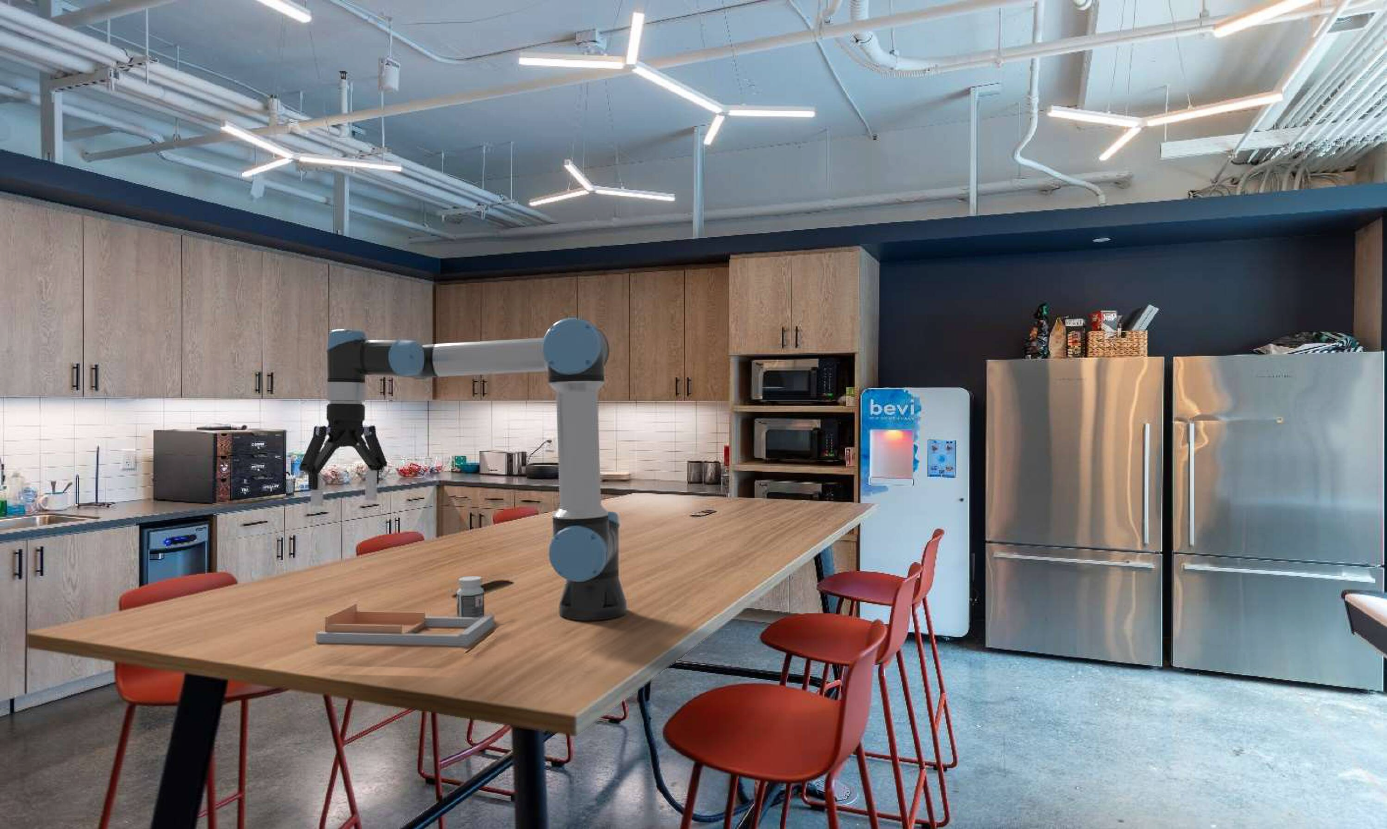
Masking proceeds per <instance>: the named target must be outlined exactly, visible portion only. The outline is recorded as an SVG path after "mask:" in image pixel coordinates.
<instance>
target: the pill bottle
mask: <svg viewBox="0 0 1387 829" xmlns="http://www.w3.org/2000/svg"><path fill="white" fill-rule="evenodd" d="M482 583H483V582H482V576H473V575H472V576H464V577H460V578H459V579H458V585H459V586H460V587H459V588H458V590H457V591H456V617H478V618H483V617H484V616H485V591H484V588H483V587H481V586H482Z"/></svg>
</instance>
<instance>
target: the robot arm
mask: <svg viewBox="0 0 1387 829" xmlns="http://www.w3.org/2000/svg"><path fill="white" fill-rule="evenodd" d="M326 348H327V349H326V353H327V354H326V358H327V360H326V361H327V364H326V366H327V372H326V373H327V379H326V401H327V402H329V403H327V405H326V421H327V422H328V423H327V426H326V425H315V426H314V427H313V432H312V433H313V434H312V438H311V440H310V442H309V444H308V447H307V449H306V450H305V453H304V455H303V457H302V460H301V463H300V464H299V466H298V469H299V471H301V472H304V474H307V476H308V481H307V482H308V483H307V484H308V485H307V488H308V490H310V506H312V507H313V506H314V507H323V506H324V474H323V473H320V472H321V471H322V470H323V468H324V467H325V466H326V464H327V462H328V461H329V460H330V459H331V457H332V456H333V454H334V453H335V451H336V450H338V449H339V448H346V447H352V448H353V449H355V451H356V452H357V453H358V455H359V457H360V458H361V460H362V461H363V462H364V463H365V465H366V467H367V468H368V469H366V470H365V483H364V484H365V488H364V490H365V493H364V495H365V496H364V499H365V501H377V496H378V495H377V494H378V487H377V486H378V485H379V484H380V471H383V470H384V468H385V467H387V466H388V462H387V459H386V457H385V455H384V451H383V448H382V446H381V444H380V442H379V439H378V437H377V431H376V430H377V429H376V426H375V425H374V424H373V425H370V424H368V425H364V424H363V422H364V421H366V420H365V418H366V406H365V404H363V402H365V401H366V376H393V377H401V378H403V377H404V378H411V379H415V380H426V379H429V378H441V377H461V376H477V375H478V376H479V375H494V374H495V375H499V374H515V373H532V372H533V373H535V372H547V374H548V376H547V377H548V380H547V381H548V385H549V387H551V389H552V390H554V392H555V395H556V400H555V402H556V421H557V422H556V425H557V426H556V427H557V428H556V429H557V432H556V433H557V457H558V458H557V460H558V462H557V463H558V491H559V494H558V496H559V497H558V498H559V507H558V508H557V510H556V511H555V512H554V513H553V514H552V538H551V541H550V544H549V548H548V558H549V562H550V565H551V567H552V568H553V571H555V573H556V574H557V575H558V576H560V577H561V578H562V579H565V580H566V581H565V584H564V588H563V591H562V595H561V598H560V601H559V605H558V609H559V611H558V612H559V613H558V614H559V616H560V617H562V618H565V619H568V620H573V621H589V622H590V621H603V620H610V619H611V620H612V619H616V618H619V617H622V616H624V615H625V614H626V613H627V606H628V604H627V599H626V596H625V594H624V590H623V587H622V584H621V581H620V576H619V575H620V574H619V573H620V572H619V571H620V570H619V565H620V564H619V562H620V561H619V560H620V559H619V552H620V550H619V549H620V548H619V541H620V540H619V539H620V538H619V531H620V530H619V528H620V522H619V515H618V513H617V512H615V511H608V510H606V509H605V508H604V507H603V506H602V497H601V494H602V493H601V492H602V491H601V464H600V462H601V461H600V436H599V435H600V432H599V431H600V430H599V426H600V425H599V402H598V401H599V399H598V398H599V397H598V392H599V390H600V389H601V388H602V387H603V385H604V384H605V366H606V364H607V363H608V360H609V358H610V350H611V348H610V343H609V341H608V338H607V337H606V335H605V334H604V332H602V331H601V330H600V329H599V328H597V327H596V326H595V325H594V324H593V323H591V322H590V321H588V320H586V319H583V318H576V317H566V318H562V319H560V320H558V321H557V322H555V323H553V324H552V325H551V326H550V327H549V329H548V330H547V331H546V333H545V335H544V337H533V338H521V339H520V338H518V339H517V338H516V339H500V340H498V339H497V340H483V341H466V342H449V343H448V342H447V343H436V344H435V343H434V344H433V343H432V344H421V343H420V342H419V341H417V340H408V339H379V340H378V339H367V335H366V333H365V332H364V331H363V330H358V329H345V328H344V329H343V328H342V329H333V330H331V331H329V333H328V336H327V346H326ZM327 436H328V438H327V439H326V437H327ZM362 436H363V437H364V438H363V437H362ZM323 445H324V446H323Z"/></svg>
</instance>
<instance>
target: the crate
mask: <svg viewBox="0 0 1387 829" xmlns="http://www.w3.org/2000/svg"><path fill="white" fill-rule="evenodd" d="M425 616H426V612H425V611H388V610H387V611H386V610H385V611H383V610H382V611H381V610H358V603H352V604H350V605H347V606H346V607H343V608H342V609H340V610H337V611H335V612H332V613H330V614H329V615H326V616H324V630H325V631H324V632H356V633H404V634H417V633H418V632H419V631H420V630H422V629H424V628H426V626H425Z"/></svg>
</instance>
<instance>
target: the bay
mask: <svg viewBox="0 0 1387 829" xmlns="http://www.w3.org/2000/svg"><path fill="white" fill-rule="evenodd" d="M494 626H495V615H494V614H485V615H484V617H483V618H478V617H457V616H427V615H425V627H427V628H428V627H430V628H431V627H435V628H437V627H439V628H442V627H443V628H466V629H464V630H463V631H462V632H460V633H458V634H452V633H451V634H449V633H448V634H445V633H444V634H443V633H414V634H404V633H356V632H325V631H318V632H316V634H315V636H316V637H315V640H316V641H315V642H316V643H317V644H318V643H322V644H323V643H324V644H325V643H329V644H363V645H364V644H366V645H411V646H422V645H423V646H452V647H453V646H457V647H468V646H470V645H471V644H472V643H474V642H475V641H476V640H477V639H479V638H480V637H482V636H484V634H485V633H487V632H488V631H489V630H491V629H492V628H494ZM494 632H495V630H494V629H493V630H492V631H491V632H489V633H488V634H487V635H485V637H483V638H482V639H480V641H478V642H476V643H475V645H473V646H471V648H469V649H467V651H466V652H464V654H468V653H469V652H471V651H472V650H473V649H474V648H475V647H477V646H478V645H480V644H481V643H482V642H483V641H485V640H486V639H487V638H488V637H489V636H491V635H492V634H493V633H494Z"/></svg>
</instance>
